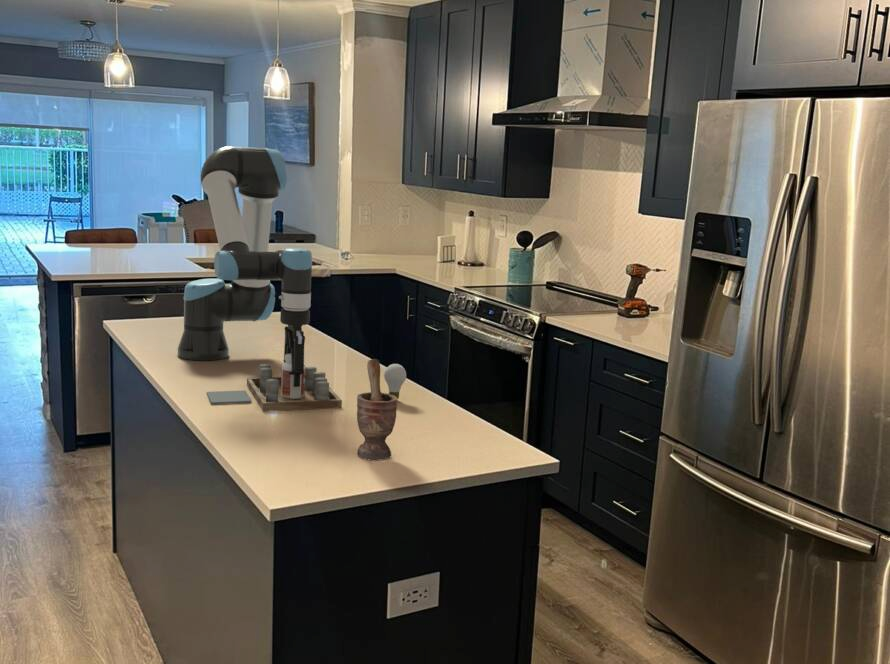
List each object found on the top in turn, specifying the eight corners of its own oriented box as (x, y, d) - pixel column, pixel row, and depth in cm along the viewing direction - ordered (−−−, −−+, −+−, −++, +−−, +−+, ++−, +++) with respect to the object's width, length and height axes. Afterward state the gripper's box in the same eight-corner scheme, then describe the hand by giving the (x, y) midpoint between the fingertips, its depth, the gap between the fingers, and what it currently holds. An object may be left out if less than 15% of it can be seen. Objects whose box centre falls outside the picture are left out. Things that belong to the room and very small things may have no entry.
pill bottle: (308, 398, 230) (309, 356, 228) (286, 400, 227) (287, 358, 225) (298, 391, 235) (300, 351, 233) (277, 394, 232) (278, 353, 230)
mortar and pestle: (340, 447, 193) (344, 359, 189) (374, 442, 198) (379, 356, 194) (366, 463, 184) (371, 371, 180) (401, 458, 189) (406, 368, 185)
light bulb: (408, 399, 235) (410, 363, 233) (399, 404, 229) (402, 367, 227) (387, 396, 237) (389, 360, 235) (379, 401, 231) (381, 364, 229)
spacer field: (246, 385, 239) (247, 363, 237) (318, 382, 246) (319, 362, 245) (262, 411, 216) (263, 387, 215) (341, 407, 223) (342, 385, 222)
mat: (206, 393, 227) (206, 391, 227) (245, 392, 231) (245, 390, 231) (211, 404, 218) (211, 402, 218) (251, 403, 222) (251, 400, 222)
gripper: (274, 302, 234) (271, 385, 238) (288, 315, 216) (285, 405, 221) (301, 302, 236) (298, 384, 241) (318, 315, 219) (314, 404, 223)
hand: (292, 394), depth 231 cm, fingers closed on pill bottle, 6 cm apart
